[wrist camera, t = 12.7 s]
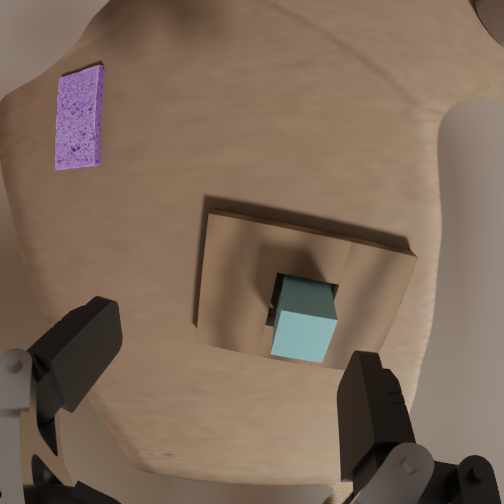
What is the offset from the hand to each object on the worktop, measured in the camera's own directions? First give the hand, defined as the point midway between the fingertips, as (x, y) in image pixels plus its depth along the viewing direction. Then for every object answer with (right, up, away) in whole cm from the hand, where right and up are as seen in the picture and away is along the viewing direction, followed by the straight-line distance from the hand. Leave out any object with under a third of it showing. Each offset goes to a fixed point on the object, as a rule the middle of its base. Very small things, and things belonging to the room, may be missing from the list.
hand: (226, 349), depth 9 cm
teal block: (+6, -2, +24) cm, 25 cm away
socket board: (+6, -2, +24) cm, 25 cm away
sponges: (-20, +20, +20) cm, 35 cm away
